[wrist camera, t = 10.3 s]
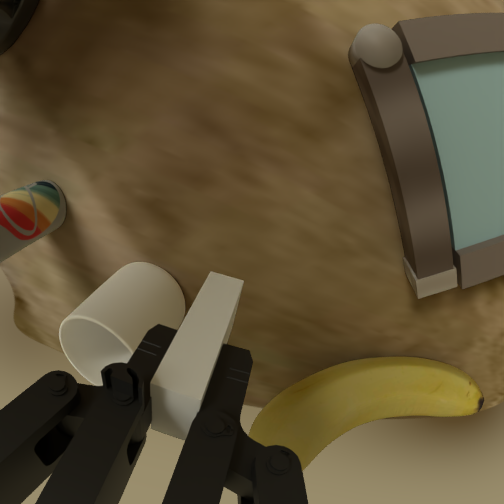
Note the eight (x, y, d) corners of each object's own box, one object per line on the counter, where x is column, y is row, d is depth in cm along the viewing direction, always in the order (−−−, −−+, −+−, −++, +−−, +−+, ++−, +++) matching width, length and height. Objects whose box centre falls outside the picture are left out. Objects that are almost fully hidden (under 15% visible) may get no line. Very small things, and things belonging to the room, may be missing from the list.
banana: (474, 342, 27) (538, 501, 9) (458, 380, 29) (499, 530, 11) (265, 341, 31) (214, 535, 13) (266, 382, 33) (225, 552, 15)
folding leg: (339, 45, 19) (345, 29, 15) (380, 35, 18) (394, 19, 14) (405, 273, 26) (419, 300, 21) (440, 263, 25) (458, 288, 20)
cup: (178, 258, 29) (123, 320, 20) (202, 358, 34) (169, 429, 25) (107, 259, 31) (45, 311, 22) (137, 351, 35) (96, 412, 26)
